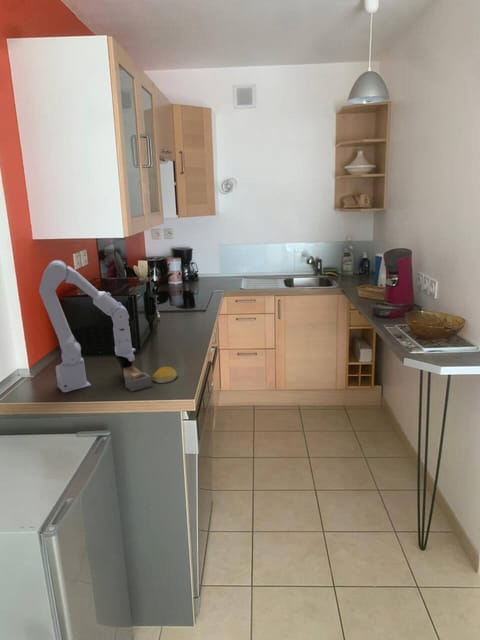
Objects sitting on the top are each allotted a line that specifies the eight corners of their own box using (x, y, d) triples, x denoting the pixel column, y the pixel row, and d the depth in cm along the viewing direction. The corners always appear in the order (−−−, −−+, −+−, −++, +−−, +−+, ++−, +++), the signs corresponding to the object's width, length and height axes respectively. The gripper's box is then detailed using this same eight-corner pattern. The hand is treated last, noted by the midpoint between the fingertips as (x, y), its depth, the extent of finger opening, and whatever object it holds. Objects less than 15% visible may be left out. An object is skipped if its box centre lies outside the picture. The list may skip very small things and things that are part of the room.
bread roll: (149, 383, 165) (148, 372, 164) (159, 374, 174) (158, 364, 173) (171, 384, 163) (170, 373, 162) (180, 375, 172) (179, 364, 171)
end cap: (131, 391, 158) (130, 381, 157) (125, 386, 163) (124, 377, 162) (152, 385, 162) (151, 376, 161) (145, 381, 167) (144, 372, 166)
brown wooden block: (135, 388, 161) (133, 375, 160) (124, 379, 169) (123, 368, 168) (144, 385, 163) (143, 373, 162) (133, 377, 171) (132, 365, 170)
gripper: (141, 341, 164) (145, 377, 167) (125, 332, 176) (130, 367, 179) (121, 345, 160) (126, 382, 164) (107, 336, 172) (112, 371, 175)
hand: (127, 374), depth 171 cm, fingers closed
